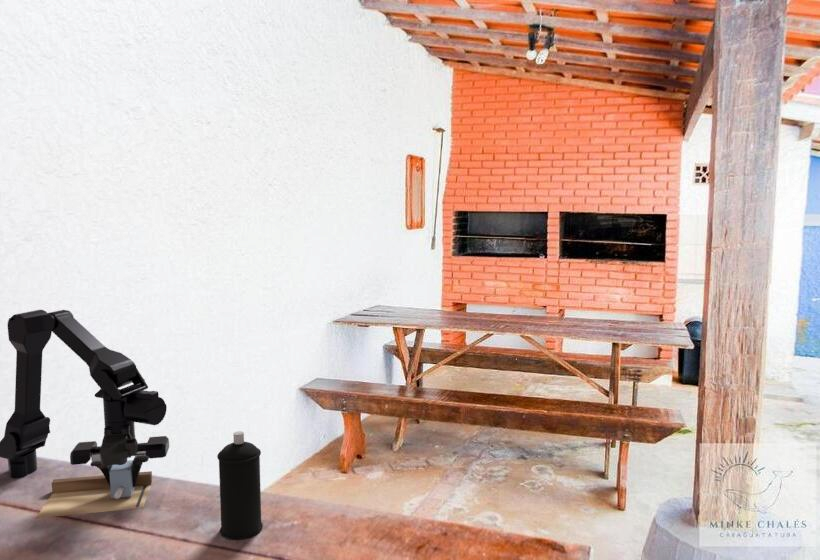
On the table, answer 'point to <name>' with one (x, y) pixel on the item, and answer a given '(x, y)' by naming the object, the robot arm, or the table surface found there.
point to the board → (92, 496)
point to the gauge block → (121, 480)
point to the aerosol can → (240, 489)
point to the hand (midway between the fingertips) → (123, 487)
